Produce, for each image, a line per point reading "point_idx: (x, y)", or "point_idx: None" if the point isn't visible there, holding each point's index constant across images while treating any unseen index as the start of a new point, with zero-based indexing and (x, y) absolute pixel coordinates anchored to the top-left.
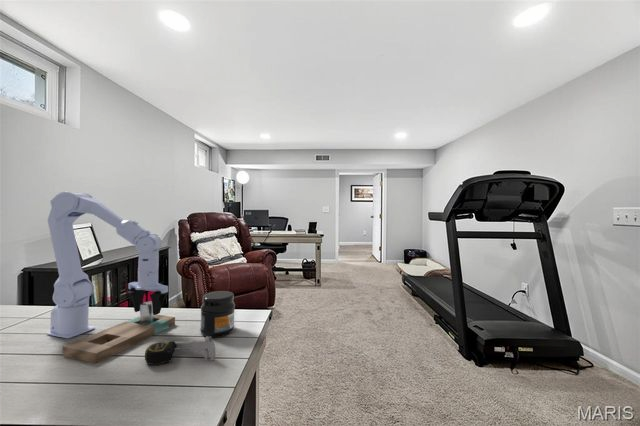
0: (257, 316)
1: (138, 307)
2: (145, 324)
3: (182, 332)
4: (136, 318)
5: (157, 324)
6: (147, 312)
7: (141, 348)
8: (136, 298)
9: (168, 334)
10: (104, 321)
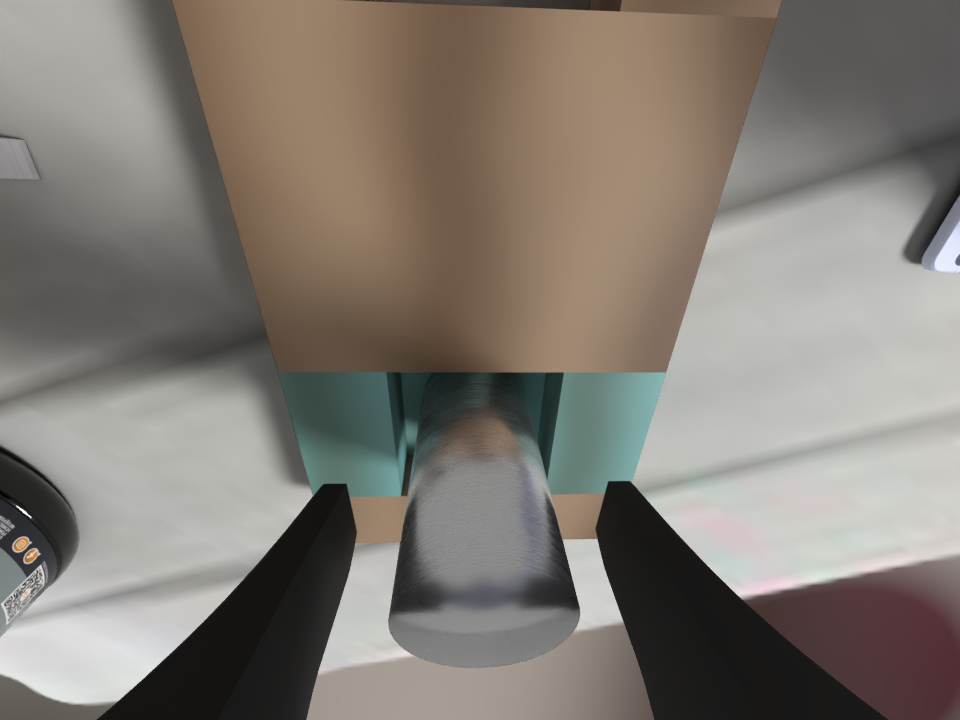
0: (26, 667)
1: (619, 542)
2: (440, 391)
3: (153, 422)
4: (616, 448)
5: (305, 411)
6: (416, 491)
7: (83, 38)
8: (704, 688)
9: (208, 368)
10: (912, 393)
